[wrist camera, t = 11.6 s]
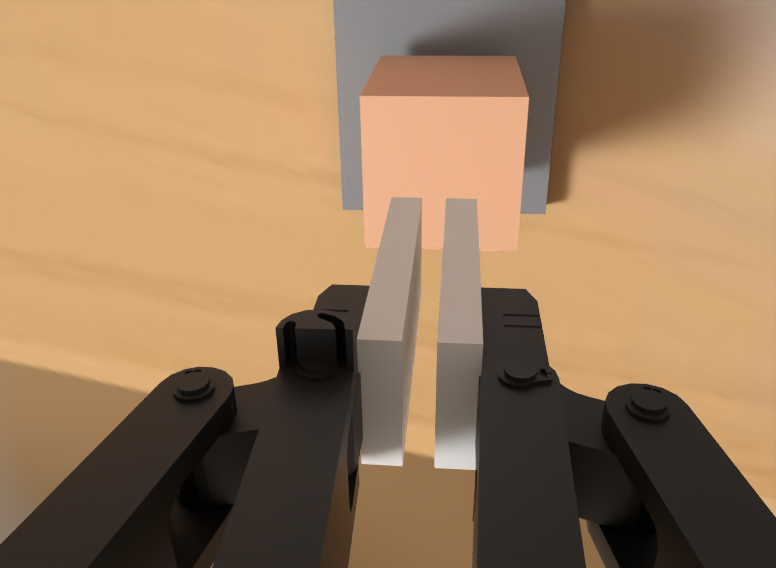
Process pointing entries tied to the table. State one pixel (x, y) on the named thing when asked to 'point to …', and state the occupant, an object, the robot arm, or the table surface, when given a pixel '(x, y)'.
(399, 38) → the plinth
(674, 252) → the table surface
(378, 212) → the peach foam cube
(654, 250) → the table surface
